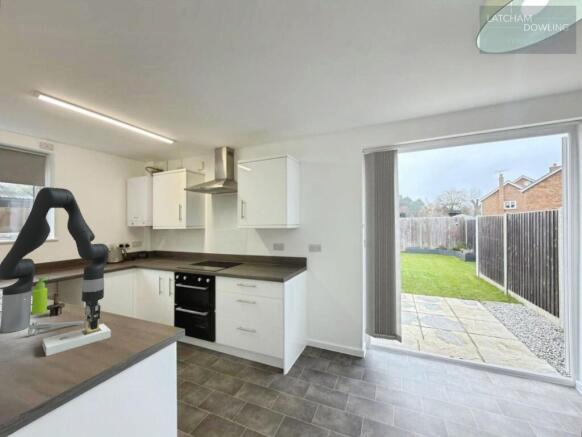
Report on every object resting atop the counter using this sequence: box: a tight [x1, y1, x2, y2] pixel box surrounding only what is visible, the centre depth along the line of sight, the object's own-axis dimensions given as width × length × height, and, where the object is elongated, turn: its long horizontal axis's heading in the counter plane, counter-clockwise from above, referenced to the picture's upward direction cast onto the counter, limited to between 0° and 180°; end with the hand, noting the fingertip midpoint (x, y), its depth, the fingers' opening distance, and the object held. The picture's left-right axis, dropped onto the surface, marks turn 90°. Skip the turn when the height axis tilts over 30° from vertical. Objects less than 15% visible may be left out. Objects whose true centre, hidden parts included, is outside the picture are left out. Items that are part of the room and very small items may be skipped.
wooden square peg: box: [84, 318, 100, 335], centre depth 105 cm, size 4×4×8 cm
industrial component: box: [47, 292, 66, 317], centre depth 133 cm, size 9×7×12 cm
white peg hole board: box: [41, 323, 112, 357], centre depth 101 cm, size 12×20×3 cm, turn 141°
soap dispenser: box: [31, 276, 50, 315], centre depth 136 cm, size 6×7×20 cm
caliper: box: [27, 320, 85, 338], centre depth 113 cm, size 20×1×6 cm, turn 143°
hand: (91, 326), depth 104 cm, fingers open, 6 cm apart
